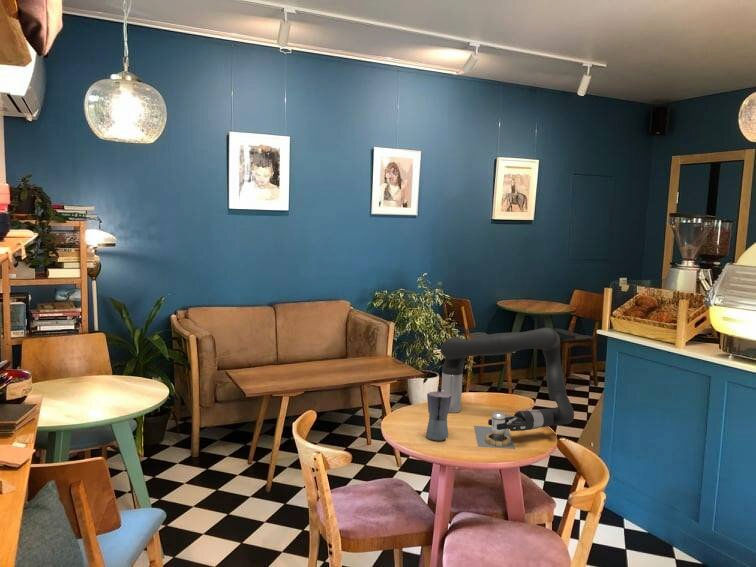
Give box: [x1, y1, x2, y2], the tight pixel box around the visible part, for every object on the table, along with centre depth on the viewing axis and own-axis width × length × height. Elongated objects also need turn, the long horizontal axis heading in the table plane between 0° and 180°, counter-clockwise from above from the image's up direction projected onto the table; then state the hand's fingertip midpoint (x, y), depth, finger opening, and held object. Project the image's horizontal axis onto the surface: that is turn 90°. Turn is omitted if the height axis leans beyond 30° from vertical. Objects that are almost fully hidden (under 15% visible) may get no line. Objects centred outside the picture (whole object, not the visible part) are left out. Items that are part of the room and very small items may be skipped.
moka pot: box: [425, 386, 452, 441], centre depth 231 cm, size 10×15×20 cm, turn 179°
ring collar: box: [485, 433, 512, 447], centre depth 227 cm, size 9×9×2 cm
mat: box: [473, 425, 516, 450], centre depth 233 cm, size 14×24×1 cm, turn 174°
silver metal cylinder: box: [491, 411, 506, 441], centre depth 227 cm, size 5×5×10 cm
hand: (493, 424), depth 225 cm, fingers closed on silver metal cylinder, 5 cm apart
